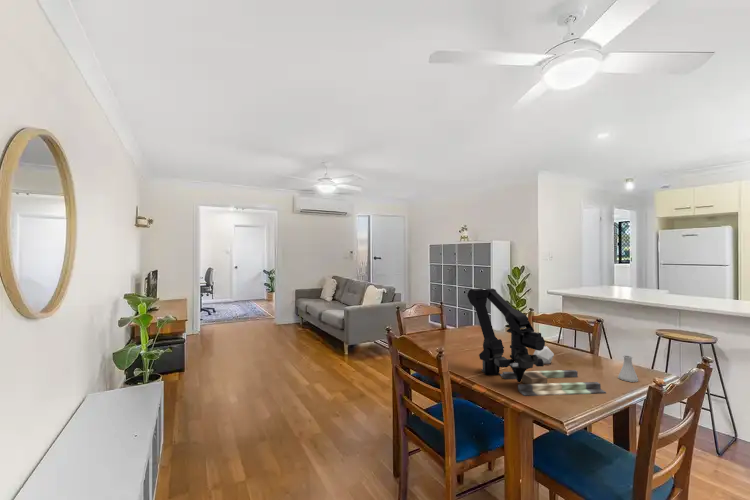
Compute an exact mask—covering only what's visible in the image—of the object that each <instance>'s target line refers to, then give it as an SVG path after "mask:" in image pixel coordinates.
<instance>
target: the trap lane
mask: <svg viewBox="0 0 750 500" xmlns="http://www.w3.org/2000/svg"><path fill="white" fill-rule="evenodd" d="M526 372H538V373H540V374H542V375H543V376H545V377H547V379H555V378H556V379H558V378H562V379H563V378H565V379H566V378H578V371H577V370H576V369H565V370H564V369H563V370H561V369H560V370H559V369H557V370H526V371H525V372H524V373H526ZM499 376H501V378H502V379H504V380H517V379H516V377H515V375H514V372H513V371H502V373H500V375H499ZM601 387H602V386H601V383H599V382H598V381H589V382H587V381H586V382H582V381H581V382H553V383H550V382H547V383H546V384H525V383H523V384H522V383H519V384H517V391H518V392H519V393H520V394H521V395H522V396H525V397H527V396H528V397H531V396H532V397H535V396H561V395H565V396H566V395H591V394H593V395H594V394H596V395H597V394H606V393H607V391H605V390H603V389H602V388H601Z"/></svg>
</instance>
